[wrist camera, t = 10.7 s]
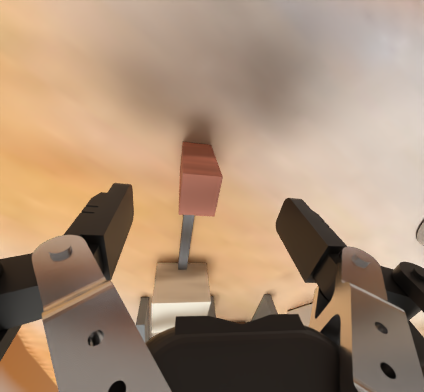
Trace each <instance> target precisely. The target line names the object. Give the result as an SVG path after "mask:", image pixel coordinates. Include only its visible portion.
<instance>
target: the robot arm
mask: <svg viewBox="0 0 424 392" xmlns="http://www.w3.org/2000/svg"><path fill="white" fill-rule="evenodd" d="M133 215H134V208H133V191H132V185H131V184H120V183H114V184H113V185H112V187H111V188H110V190H109V191H108V193H102V192H101V193H99V194H98V195H96V196H94V197H93V198H91V200H90V201H89V202H88V204H87V205H86V207H85V208H84V209H83V210H82V213H80V214H79V215H78V217H77V218H76V219H75V221H74V222H73V223H72V225H71V226H70V227H69V228H68V230H67V231H66V232H65V234H64V235H63V236H58V237H55V238H52V239H50V240H47V241H46V242H44V243H42V244H41V245H40V246H39V247H37V248H36V250H35V251H34V252H33V253H31V254H27V255H21V256H15V257H10V258H4V259H0V361H1V359H2V357H3V356H4V354H5V352H6V351H7V349H8V347H9V346H10V344H11V342H12V340H13V339H14V337H15V336H16V334H17V332H18V331H19V329H20V327H21V325H23V324H26V323H29V322H33V321H36V320H39V319H42V320H43V325H44V329H45V334H46V338H47V342H48V347H49V351H50V355H51V360H52V364H53V368H54V373H55V377H56V381H57V386H58V390H59V392H424V337H423V336H422V335H421V334H420V333H419V331H418V330H417V329H416V328H415V327H414V325H413V324H412V323H411V322H410V321H409V320H410V319H411V318H412V317H413V316H415V315H416V314H417V313H418V312H420V311H421V310H422V311H423V312H424V268H422V267H420V266H418V265H415V264H413V263H409V262H401V263H400V264H399V265H398V266H397V267H396V268H395V269H394V270H393V269H390V268H386V267H383V266H380V265H379V263H378V262H377V261H376V260H375V259H374V258H373V257H372V256H371V255H369V254H368V253H366V252H364V251H362V250H360V249H358V248H354V247H347V246H346V245H345V243H344V242H343V241H342V240H341V239H340V238H339V237H338V236H337V235H336V233H335V232H334V231H333V230H332V229H331V228H329V226H328V225H327V224H326V223H324V220H323V219H322V218H321V217H320V216H319V215H318V214H317V213H315V212H314V211H312V210H311V209H310V208H309V207H308V205H307V204H306V203H305V202H304V201H303V200H302V199H294V198H287V199H286V200H285V201H284V203H283V206H282V208H281V210H280V213H279V215H278V218H277V220H276V230H277V233H278V234H279V236H280V238H281V240H282V242H283V243H284V245H285V247H286V249H287V251H288V252H289V254H290V256H291V258H292V260H293V262H294V263H295V265H296V267H297V269H298V271H299V272H300V274H301V276H302V278H303V280H304V281H305V283H317V285H318V286H317V288H316V289H315V292H314V298H313V305H312V311H311V317H310V323H309V326H305V325H303V323H302V321H301V319H300V316H299V314H270V315H268V316H265V317H262V318H259V319H256V320H253V321H250V322H247V323H244V324H239V323H235V322H231V321H227V320H223V319H219V318H215V317H211V316H176V319H175V327H173V328H169V329H167V330H165V331H163V332H160V333H159V334H157V335H155V336H154V337H152V338H151V339H149V340H148V341H147V342H146V343H145V342H144V340H143V338H142V336H141V334H140V333H139V331H138V329H137V327H136V325H135V323H134V322H133V320H132V318H131V316H130V314H129V312H128V311H127V309H126V307H125V305H124V303H123V301H122V300H121V298H120V296H119V294H118V292H117V290H116V289H115V287H114V285H113V283H112V282H111V281H110V280H111V279H112V276H113V273H114V271H115V268H116V265H117V262H118V260H119V257H120V254H121V252H122V249H123V246H124V244H125V241H126V238H127V235H128V233H129V230H130V227H131V225H132V222H133ZM417 240H418V241H419V243H420V244H422V245H423V246H424V222H423V223H422V225H421V226H420V228H419V230H418V233H417Z"/></svg>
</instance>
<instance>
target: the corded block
mask: <svg viewBox="0 0 424 392" xmlns="http://www.w3.org/2000/svg"><path fill="white" fill-rule="evenodd" d="M222 178H223V177H222V174H221V171H220V168H219V166H218V163H217V160H216V157H215V155H214V152H213V149H212V146H211V145H206V144H198V143H190V142H183V144H182V156H181V168H180V189H179V215H183V224H182V233H181V243H180V252H179V261H178V263H157V267H156V275H155V282H154V290H153V297H152V333H160V332H163V331H165V330H167V329H169V328H173V327H175V319H176V316H207V315H208V311H209V307H210V304H211V297H210V289H209V281H208V272H207V264H206V263H188V256H189V249H190V242H191V235H192V228H193V221H194V215H198V216H215V211H216V206H217V202H218V197H219V192H220V187H221V183H222Z"/></svg>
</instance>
